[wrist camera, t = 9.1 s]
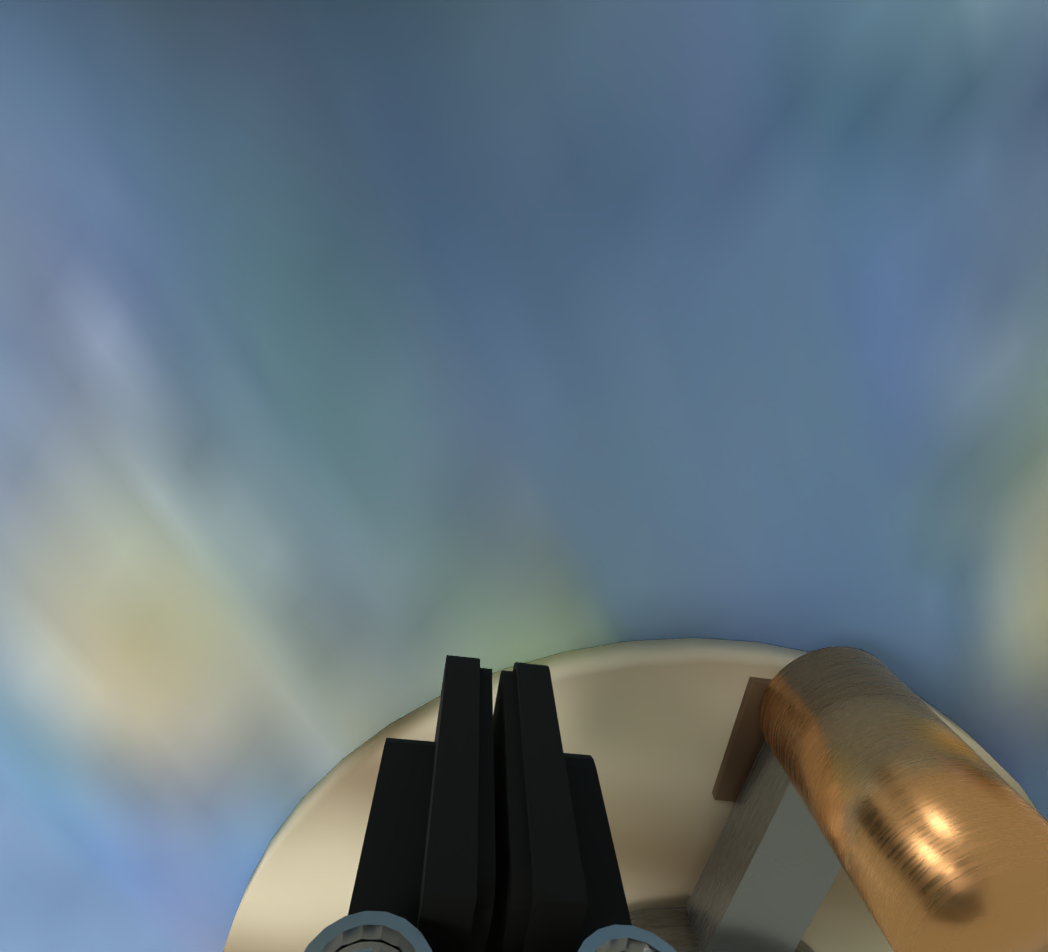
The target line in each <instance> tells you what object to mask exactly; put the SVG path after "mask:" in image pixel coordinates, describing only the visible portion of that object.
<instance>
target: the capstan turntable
mask: <svg viewBox="0 0 1048 952" xmlns="http://www.w3.org/2000/svg"><path fill="white" fill-rule="evenodd" d="M758 717H759V726H760V730H761V733H762V735H763V737H764V739H765V741H764V743H763V745H762V747H761V749H760V751H759V753H758V755H757V758H756V760H755V762H754V764H753V766H752V768H751V770H750V772H749V774H748V776H747V779H746V781H745V783H744V785H743V787H742V789H741V791H740V793H739V795H738V797H737V800H736V802H735V804H734V806H733V808H732V810H731V812H730V814H729V816H728V818H727V821H726V823H725V825H724V827H723V829H722V831H721V833H720V835H719V837H718V839H717V842H716V844H715V846H714V848H713V850H712V852H711V854H710V856H709V858H708V860H707V863H706V865H705V867H704V869H703V871H702V873H701V875H700V877H699V879H698V881H697V884H696V886H695V888H694V890H693V892H692V894H691V896H690V898H689V900H688V902H687V905H686V906H668V907H657V908H646V909H641V910H636V911H631V912H629V914H630V919H631V923H632V926H636V927H638V928H641V929H644V930H646V931H649V932H652V933H654V934H655V935H657V936H658V937H659V938H661V939H662V940H664V941H665V942H667V943H668V944H669V945H671V946H672V947H673V948H674V949H675V950H676V952H815V951H814V950H813V949H812V948H811V947H810V946H808V945H807V944H806V943H805V942H804V941H802V940H801V939H802V937H803V935H804V933H805V932H806V930H807V928H808V926H809V924H810V923H811V921H812V919H813V917H814V915H815V914H816V912H817V910H818V908H819V906H820V905H821V903H822V901H823V899H824V898H825V896H826V894H827V892H828V890H829V889H830V887H831V885H832V883H833V881H834V880H835V878H836V876H837V874H838V872H839V871H840V869H841V867H843V869H844V871H845V872H846V874H847V875H848V877H849V879H850V880H851V882H852V884H853V885H854V887H855V889H856V890H857V892H858V894H859V895H860V897H861V899H862V900H863V902H864V903H865V905H866V907H867V908H868V910H869V912H870V913H871V915H872V917H873V918H874V920H875V922H876V923H877V925H878V927H879V928H880V930H881V931H882V933H883V935H884V936H885V938H886V940H887V941H888V943H889V945H890V946H891V948H892V950H893V951H894V952H1048V821H1047V820H1046V819H1045V818H1044V817H1043V816H1042V815H1041V814H1040V813H1038V812H1037V811H1036V810H1035V809H1034V808H1033V807H1032V806H1031V805H1030V804H1029V803H1028V802H1027V801H1026V800H1025V799H1024V798H1023V797H1022V796H1021V795H1020V794H1019V793H1018V792H1017V791H1016V790H1015V789H1013V788H1012V787H1011V786H1010V785H1009V784H1008V783H1007V782H1006V781H1005V780H1004V779H1003V778H1002V777H1001V776H1000V775H999V774H998V773H997V772H996V771H995V770H994V769H993V768H992V767H991V766H990V765H988V764H987V763H986V762H985V761H984V760H983V759H982V758H981V757H980V756H979V755H978V754H977V753H976V752H975V751H974V750H973V749H972V748H971V747H970V746H969V745H968V744H967V743H966V742H964V741H963V740H962V739H961V738H960V737H959V736H958V735H957V734H956V733H955V732H954V731H953V730H952V729H951V728H950V727H949V726H948V725H947V724H946V723H945V722H944V721H943V720H942V719H941V718H939V717H938V716H937V715H936V714H935V713H934V712H933V711H932V710H931V709H930V708H929V707H928V706H927V705H926V704H925V703H924V702H923V701H922V700H921V699H920V698H919V697H918V696H917V695H915V694H914V693H913V692H912V691H911V690H910V689H909V688H908V687H907V686H906V685H905V684H904V683H903V682H902V681H901V680H900V679H899V678H898V677H897V676H896V675H895V674H894V673H893V672H892V671H890V670H889V669H888V668H887V667H886V666H885V665H884V664H883V663H882V662H881V661H880V660H879V659H878V658H876V657H875V656H873V655H872V654H870V653H868V652H866V651H863V650H860V649H856V648H851V647H828V648H823V649H819V650H815V651H812V652H809V653H807V654H805V655H802V656H800V657H799V658H797V659H795V660H793V661H792V662H791V663H789V664H788V665H786V666H785V667H784V668H783V669H782V670H781V671H779V672H778V674H777V675H776V676H775V677H774V678H773V679H772V681H771V682H770V683H769V685H768V686H767V688H766V690H765V692H764V694H763V696H762V699H761V702H760V706H759V715H758Z"/></svg>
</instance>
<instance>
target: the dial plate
mask: <svg viewBox="0 0 1048 952" xmlns="http://www.w3.org/2000/svg"><path fill="white" fill-rule="evenodd" d="M807 653H809V652H806V651H801V650H796V649H790V648H785V647H780V646H775V645H770V644H764V643H759V642H750V641H734V640H719V639H704V638H680V639H661V640H641V641H627V642H621V643H615V644H609V645H603V646H597V647H591V648H585V649H579V650H573V651H567V652H563V653H559V654H556V655H552V656H549V657H545V658H542V659H538V660H535V661H531V662H528V664H538V665H547V666H549V669H550V674H551V680H552V686H553V692H554V698H555V704H556V710H557V716H558V723H559V729H560V735H561V741H562V747H563V753H571V754H583V755H591V756H592V758H593V759H594V762H595V765H596V769H597V773H598V778H599V782H600V786H601V791H602V795H603V800H604V804H605V808H606V813H607V817H608V822H609V826H610V831H611V835H612V839H613V844H614V848H615V853H616V857H617V861H618V866H619V870H620V875H621V879H622V883H623V888H624V892H625V897H626V901H627V905H628V910H629V912H631V911H636V910H641V909H646V908H657V907H668V906H686V905H687V902H688V900H689V898H690V896H691V894H692V892H693V890H694V888H695V886H696V884H697V881H698V879H699V877H700V875H701V873H702V871H703V869H704V867H705V865H706V863H707V860H708V858H709V856H710V854H711V852H712V850H713V848H714V846H715V844H716V842H717V839H718V837H719V835H720V833H721V831H722V829H723V827H724V825H725V823H726V821H727V818H728V816H729V814H730V812H731V810H732V808H733V806H734V804H735V802H736V800H737V797H738V795H739V793H740V791H741V789H742V787H743V785H744V783H745V781H746V779H747V776H748V774H749V772H750V770H751V768H752V766H753V764H754V762H755V760H756V758H757V755H758V753H759V751H760V749H761V747H762V745H763V743H764V741H765V739H764V737H763V735H762V733H761V730H760V726H759V717H758V715H759V706H760V702H761V699H762V696H763V694H764V692H765V690H766V688H767V686H768V685H769V683H770V682H771V681H772V679H773V678H774V677H775V676H776V675H777V674H778V672H779V671H781V670H782V669H783V668H784V667H785V666H786V665H788V664H789V663H791V662H792V661H793V660H795V659H797V658H799V657H800V656H802V655H805V654H807ZM503 670H506V671H513V667H510V668H507V669H503ZM501 671H502V670H500V671H498V672H496V673H493V674H492V696H493V713H494V707H495V701H496V696H497V690H498V684H499V678H500V674H501ZM915 695H916V694H915ZM918 697H919V696H918ZM440 698H441V696H439V697H437V698H436V699H434V700H432V701H430V702H428V703H427V704H425V705H423V706H421V707H420V708H418V709H416V710H414V711H412V712H411V713H409V714H407V715H405V716H404V717H402V718H400V719H398V720H396V721H395V722H393V723H391V724H389V725H388V726H387V727H385V728H384V729H383V730H381V731H380V732H379V733H377V734H376V735H375V736H373V737H372V738H371V739H369V740H368V741H366V742H365V743H364V744H362V745H361V746H360V747H358V748H357V749H356V750H354V751H353V752H352V753H350V754H349V755H348V756H346V757H345V758H343V759H342V760H341V761H340V762H339V763H338V764H337V765H336V766H335V767H334V768H333V769H332V770H331V771H330V772H329V773H328V774H327V775H326V776H325V777H324V778H323V779H322V780H321V781H320V782H319V783H318V784H317V785H316V786H315V787H314V788H312V789H311V790H310V791H309V792H308V793H307V794H306V795H305V796H304V797H303V799H302V800H301V801H300V803H299V804H298V805H297V806H296V808H295V809H294V810H293V812H292V813H291V814H290V816H289V817H288V818H287V819H286V821H285V822H284V823H283V825H282V826H281V827H280V829H279V830H278V831H277V833H276V834H275V835H274V836H273V838H272V840H271V841H270V843H269V845H268V847H267V849H266V851H265V853H264V854H263V856H262V858H261V860H260V862H259V864H258V866H257V867H256V869H255V871H254V873H253V875H252V877H251V878H250V881H249V883H248V886H247V888H246V891H245V893H244V896H243V898H242V901H241V903H240V906H239V908H238V911H237V913H236V915H235V918H234V921H233V924H232V927H231V930H230V933H229V936H228V939H227V942H226V945H225V948H224V951H223V952H304V951H305V949H306V947H307V946H308V944H309V943H310V942H311V941H312V940H313V939H314V938H315V937H316V936H317V935H318V934H319V933H320V932H321V931H322V930H323V929H324V928H325V927H327V926H329V925H331V924H332V923H334V922H336V921H337V920H339V919H341V918H343V917H344V916H347V915H348V912H349V907H350V902H351V898H352V893H353V888H354V884H355V879H356V874H357V870H358V865H359V860H360V856H361V851H362V846H363V842H364V837H365V833H366V828H367V823H368V819H369V814H370V809H371V805H372V800H373V795H374V791H375V786H376V781H377V777H378V772H379V767H380V763H381V758H382V753H383V749H384V744H385V741H386V738H397V739H409V740H420V741H432V742H434V740H435V733H436V726H437V719H438V712H439V705H440ZM919 698H920V697H919ZM920 699H921V698H920ZM921 700H922V701H923V702H924V703H925V704H926V705H927V706H928V707H929V708H930V709H931V710H932V711H933V712H934V713H935V714H936V715H937V716H938V717H939V718H941V719H942V720H943V721H944V722H945V723H946V724H947V725H948V726H949V727H950V728H951V729H952V730H953V731H954V732H955V733H956V734H957V735H958V736H959V737H960V738H961V739H962V740H963V741H964V742H966V743H967V744H968V745H969V746H970V747H971V748H972V749H973V750H974V751H975V752H976V753H977V754H978V755H979V756H980V757H981V758H982V759H983V760H984V761H985V762H986V763H987V764H988V765H990V766H991V767H992V768H993V769H994V770H995V771H996V772H997V773H998V774H999V775H1000V776H1001V777H1002V778H1003V779H1004V780H1005V781H1006V782H1007V783H1008V784H1009V785H1010V786H1011V787H1012V788H1013V789H1015V790H1016V791H1017V792H1018V793H1019V794H1020V795H1021V796H1022V797H1023V798H1024V799H1025V800H1026V801H1027V802H1028V803H1029V804H1030V805H1031V806H1032V807H1033V808H1034V809H1035V810H1036V811H1037V809H1036V808H1035V806H1034V805H1033V803H1032V802H1031V800H1030V799H1029V797H1028V796H1027V795H1026V793H1025V792H1024V790H1023V789H1022V787H1021V786H1020V785H1019V784H1018V783H1017V782H1016V781H1015V780H1014V779H1013V778H1012V777H1011V776H1010V775H1009V774H1008V773H1007V772H1006V771H1005V770H1004V769H1003V768H1002V767H1001V766H1000V765H999V764H998V763H997V762H996V761H995V760H994V759H993V758H992V757H991V756H990V755H989V754H988V753H987V752H986V751H985V750H984V749H983V748H982V747H981V746H980V745H979V744H978V743H977V742H976V741H975V740H973V739H972V738H971V737H970V736H969V735H968V734H967V733H966V732H965V731H964V730H963V729H962V728H961V727H960V726H959V725H957V724H956V723H955V722H954V721H952V720H951V719H950V718H948V717H947V716H945V715H944V714H943V713H941V712H940V711H938V710H937V709H936V708H934V707H933V706H931V705H930V704H928V703H927V702H926V701H924V700H923V699H921ZM1037 812H1038V811H1037ZM1038 813H1039V812H1038ZM801 940H802V941H804V942H805V943H806V944H807V945H808V946H810V947H811V948H812V949H813V950H814V951H815V952H894V951H893V950H892V948H891V946H890V945H889V943H888V941H887V940H886V938H885V936H884V935H883V933H882V931H881V930H880V928H879V927H878V925H877V923H876V922H875V920H874V918H873V917H872V915H871V913H870V912H869V910H868V908H867V907H866V905H865V903H864V902H863V900H862V899H861V897H860V895H859V894H858V892H857V890H856V889H855V887H854V885H853V884H852V882H851V880H850V879H849V877H848V875H847V874H846V872H845V871H844V869H843V867H841V869H840V871H839V872H838V874H837V876H836V878H835V880H834V881H833V883H832V885H831V887H830V889H829V890H828V892H827V894H826V896H825V898H824V899H823V901H822V903H821V905H820V906H819V908H818V910H817V912H816V914H815V915H814V917H813V919H812V921H811V923H810V924H809V926H808V928H807V930H806V932H805V933H804V935H803V937H802V939H801Z"/></svg>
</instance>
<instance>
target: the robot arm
mask: <svg viewBox="0 0 1048 952" xmlns="http://www.w3.org/2000/svg"><path fill="white" fill-rule="evenodd" d="M304 952H676V950H675V949H674V948H673V947H672V946H671V945H669V944H668V943H667V942H665V941H664V940H662V939H661V938H659V937H658V936H657V935H655V934H654V933H652V932H649V931H646V930H644V929H641V928H638V927H636V926H632V923H631V919H630V914H629V910H628V905H627V901H626V897H625V892H624V888H623V883H622V879H621V875H620V870H619V866H618V861H617V857H616V853H615V848H614V844H613V839H612V835H611V831H610V826H609V822H608V817H607V813H606V808H605V804H604V800H603V795H602V791H601V786H600V782H599V778H598V773H597V769H596V765H595V762H594V759H593V758H592V756H591V755H583V754H571V753H563V747H562V741H561V735H560V729H559V723H558V716H557V710H556V704H555V698H554V692H553V686H552V680H551V674H550V669H549V666H547V665H538V664H528V663H518V662H516V663H515V664H514V667H513V671H506V670H502V671H501V674H500V678H499V684H498V690H497V696H496V701H495V707H494V713H493V696H492V669H486V668H480V659H479V658H469V657H459V656H449V655H447V657H446V663H445V670H444V677H443V684H442V691H441V698H440V705H439V712H438V719H437V726H436V733H435V740H434V742H432V741H420V740H409V739H397V738H386V741H385V744H384V749H383V753H382V758H381V763H380V767H379V772H378V777H377V781H376V786H375V791H374V795H373V800H372V805H371V809H370V814H369V819H368V823H367V828H366V833H365V837H364V842H363V846H362V851H361V856H360V860H359V865H358V870H357V874H356V879H355V884H354V888H353V893H352V898H351V902H350V907H349V912H348V915H347V916H344V917H343V918H341V919H339V920H337V921H336V922H334V923H332V924H331V925H329V926H327V927H325V928H324V929H323V930H322V931H321V932H320V933H319V934H318V935H317V936H316V937H315V938H314V939H313V940H312V941H311V942H310V943H309V944H308V946H307V947H306V949H305V951H304Z"/></svg>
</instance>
